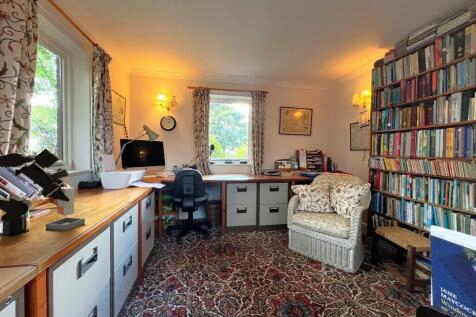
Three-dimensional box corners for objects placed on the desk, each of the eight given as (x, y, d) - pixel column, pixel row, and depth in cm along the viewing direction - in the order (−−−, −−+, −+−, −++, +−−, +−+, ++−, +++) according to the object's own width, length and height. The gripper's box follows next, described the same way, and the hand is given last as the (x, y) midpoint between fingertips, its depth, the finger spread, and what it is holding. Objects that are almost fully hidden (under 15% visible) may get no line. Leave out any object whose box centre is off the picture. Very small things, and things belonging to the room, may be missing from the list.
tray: (66, 231, 96) (66, 225, 96) (45, 229, 98) (45, 223, 98) (84, 223, 106) (84, 218, 106) (65, 222, 108) (66, 217, 108)
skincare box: (56, 214, 101) (57, 187, 101) (67, 212, 105) (67, 186, 105) (63, 216, 98) (64, 189, 98) (74, 214, 102) (75, 187, 102)
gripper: (52, 164, 91) (84, 189, 98) (58, 161, 107) (85, 183, 113) (25, 183, 87) (61, 209, 93) (36, 178, 103) (65, 200, 109)
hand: (69, 199), depth 102 cm, fingers closed on skincare box, 7 cm apart
